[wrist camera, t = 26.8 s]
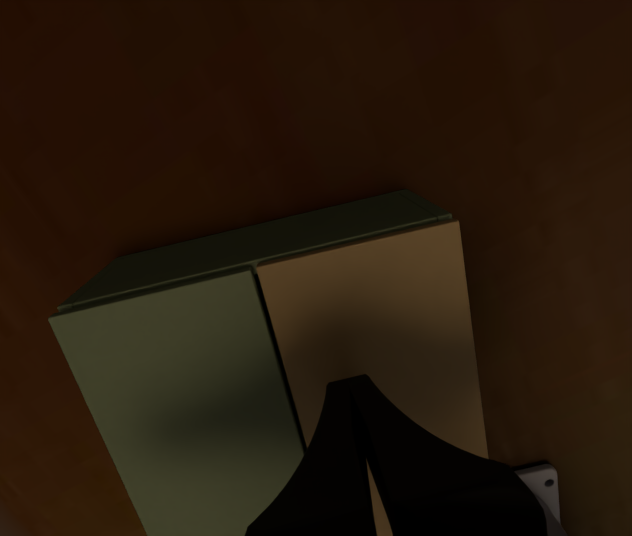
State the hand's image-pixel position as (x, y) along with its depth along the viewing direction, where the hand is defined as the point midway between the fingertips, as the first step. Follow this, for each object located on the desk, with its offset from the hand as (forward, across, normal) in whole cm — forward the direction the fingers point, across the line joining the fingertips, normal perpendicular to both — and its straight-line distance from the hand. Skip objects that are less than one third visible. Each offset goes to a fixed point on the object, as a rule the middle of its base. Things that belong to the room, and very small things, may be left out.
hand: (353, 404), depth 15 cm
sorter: (+7, +2, +1) cm, 7 cm away
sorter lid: (+1, -1, +1) cm, 2 cm away
